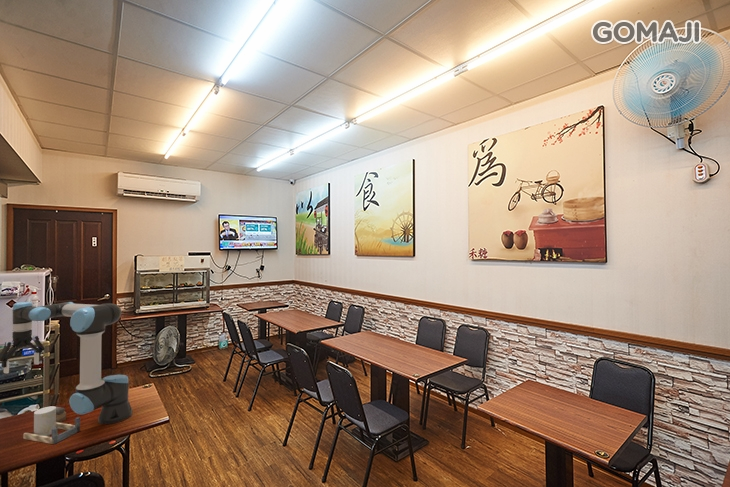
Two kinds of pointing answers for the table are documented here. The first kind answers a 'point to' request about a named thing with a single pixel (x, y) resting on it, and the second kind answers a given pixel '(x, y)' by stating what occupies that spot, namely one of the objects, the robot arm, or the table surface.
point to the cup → (45, 420)
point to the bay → (56, 433)
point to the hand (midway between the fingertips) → (21, 368)
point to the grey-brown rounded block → (60, 414)
